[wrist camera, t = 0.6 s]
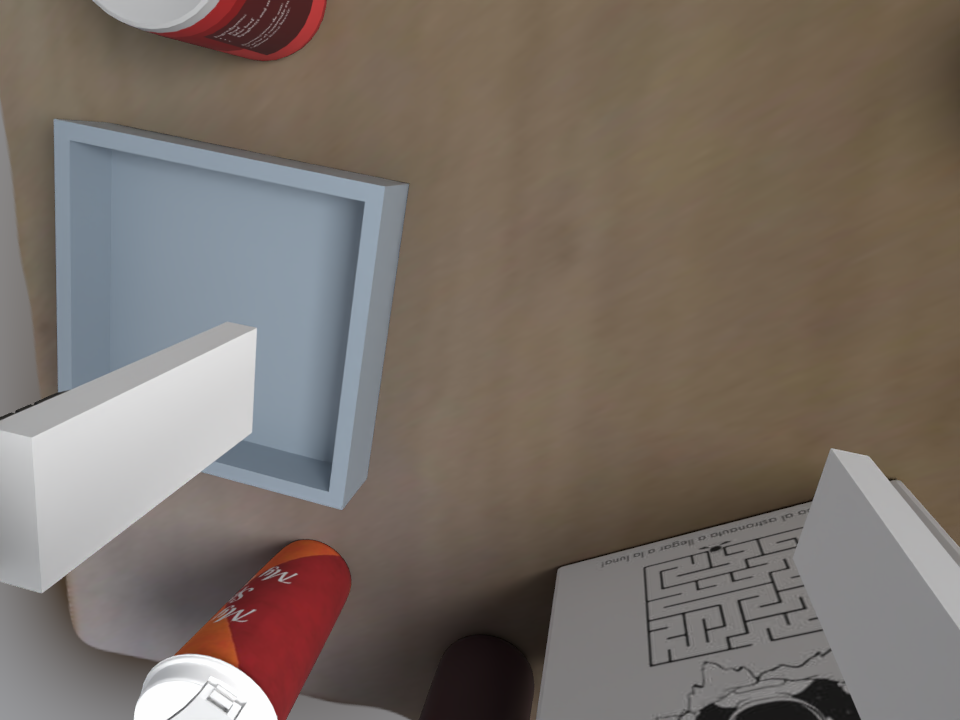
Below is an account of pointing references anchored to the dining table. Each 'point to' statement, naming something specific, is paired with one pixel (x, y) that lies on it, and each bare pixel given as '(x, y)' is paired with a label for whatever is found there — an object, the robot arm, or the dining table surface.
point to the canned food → (226, 23)
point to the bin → (233, 286)
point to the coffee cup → (254, 643)
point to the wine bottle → (481, 682)
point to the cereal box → (698, 629)
